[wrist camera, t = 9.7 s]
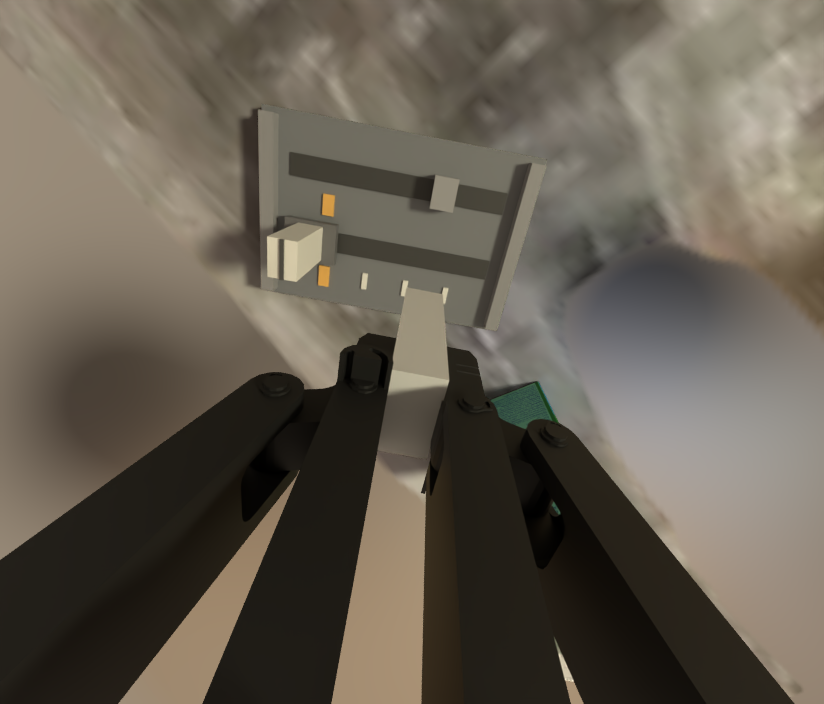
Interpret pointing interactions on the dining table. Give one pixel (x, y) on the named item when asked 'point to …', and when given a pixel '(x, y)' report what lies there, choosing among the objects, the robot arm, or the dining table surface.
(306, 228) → the fader
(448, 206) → the console
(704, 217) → the dining table surface
